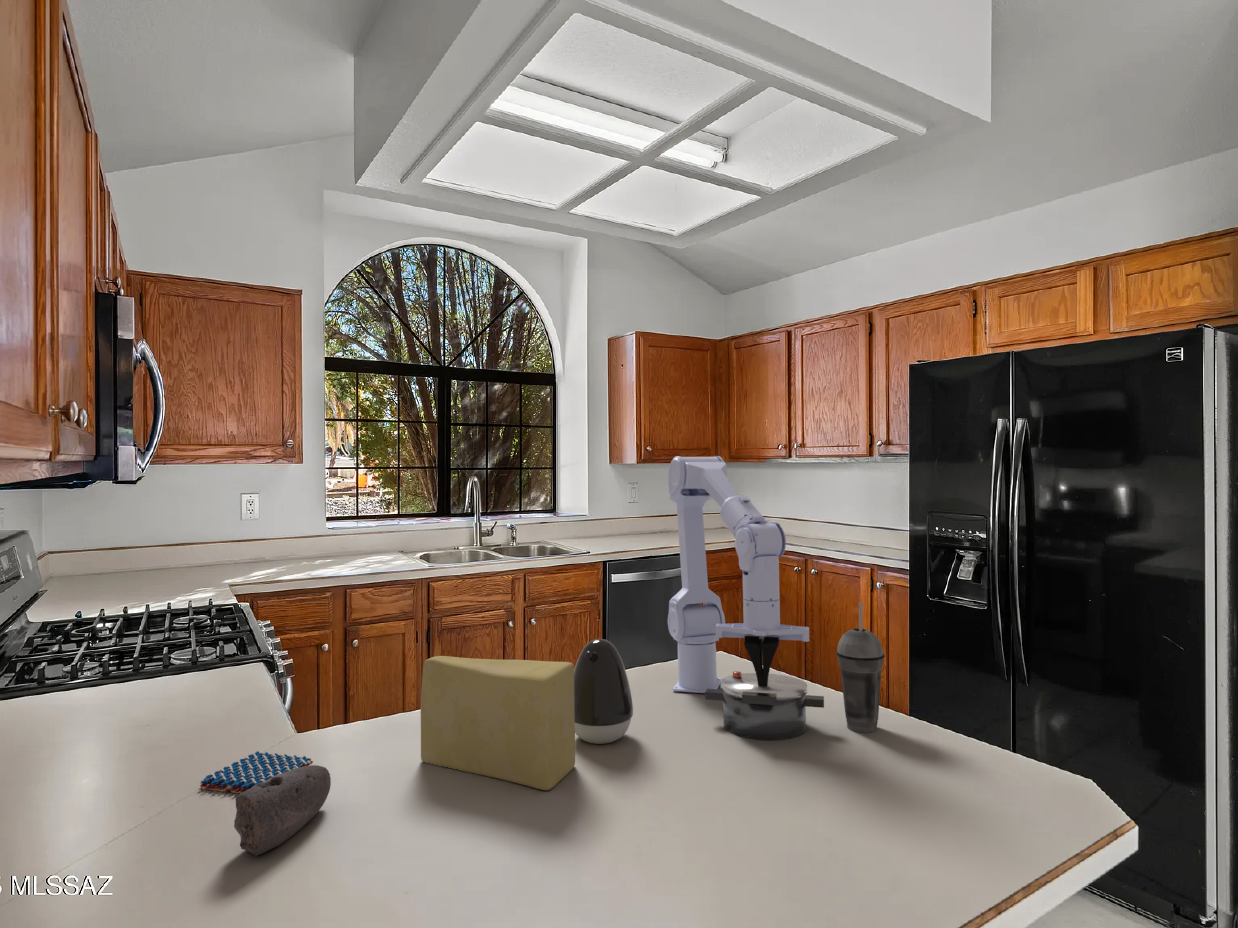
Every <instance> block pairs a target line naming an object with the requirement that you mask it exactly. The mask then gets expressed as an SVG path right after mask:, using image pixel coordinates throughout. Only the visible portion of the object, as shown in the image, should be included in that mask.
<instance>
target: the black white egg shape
mask: <svg viewBox="0 0 1238 928" xmlns="http://www.w3.org/2000/svg"><path fill="white" fill-rule="evenodd" d="M574 708H575V736H577V737H579V738H580V739H581V740H582V741H585V742H587V743H589V744H595V745H602V744H603V745H604V744H610V743H613V742H615V741H618V740H619V739H621V738H622V737H623V736H624V735H625V734H626V733H627V732H628V729H629V726H630V724H631V720H632V718H633V716H634V704H633V697H632V689H631V686H630V682H629V679H628V675H627V672H626V668H625V664H624V662H623V659H622V657H621V655H620V653H619V651H618V650H617V648H616V646H615V645H614V644H613V643H612V642H611V641H608V640H607V639H603V638H596V639H593V640H590V641H588V642H587V643H586V645H584V647H583V648H582V650H581V652H580V654H579V655H578V659H577V660H576V664H575V666H574Z"/></svg>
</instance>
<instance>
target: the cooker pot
mask: <svg viewBox="0 0 1238 928" xmlns="http://www.w3.org/2000/svg"><path fill="white" fill-rule="evenodd" d="M704 694H705V695H704V697H705V698H704V700H708V701H719V702H722V709H723V714H722V716H723V717H722V718H723V727H724V729H726V731H728V732H729V733H731V734H734V735H736V736H739V737H743V738H747V739H752V740H759V741H760V740H761V741H762V740H763V741H779V740H780V741H782V740H789V739H794V738H797V737H800V736H801V735H803V734H804V733H805V732H806V730H807V708H806V707H809V708H825V696H824V695H810V694H806V695H804V696H802V697H800V698H796V699H791V700H780V701H777V703H776V705H763V704H749V703H742V698H739V697H735V696H731V695H729V694H726V693H724V692H723V691H722V690H721V688H720V689H719V688H718V689H707V690H706V692H705V693H704Z"/></svg>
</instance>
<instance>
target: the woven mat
mask: <svg viewBox="0 0 1238 928" xmlns="http://www.w3.org/2000/svg"><path fill="white" fill-rule="evenodd" d="M313 763H314V761H313V760H312V758H310V757H306V755H303V756H302V757H300V756H299V757H298V756H297V755H296V754H295V755H293V756H291V755H287V754H284V755H281V754H280V755H279V753H273V754H271V753H269V752H267V751H266V752H264V753H262V752H259V751H258V750H256V751H255V752H254V753H251V754H249V755H247V756H245V757H243V758H240V759H238V760H237V761H235V762H233V763H232V764H231V765H230V764H229V765H228V766H224V767H223V768H220V769H219V770H218V771H217V770H216V771H215V772H214V773H210V774H207V775H206V776H205V777H204V779H202V780H201V781H200V785H199V786H200V788H201V789H203V790H206V791H208V790H209V791H219V792H226V793H233V794H234V793H235V794H241V793H243V792H245V791H247V790H248V789H250V788H252V787H253V786H255V785H256V784H259V783H261V782H264V781H266V780H268V779H269V778H271V777H274V776H277V775H280V774H282V773H284V772H287V771H290V770H293V769H296V768H299V767H304V766H310V765H312V764H313Z"/></svg>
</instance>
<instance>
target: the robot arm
mask: <svg viewBox="0 0 1238 928" xmlns="http://www.w3.org/2000/svg"><path fill="white" fill-rule="evenodd" d="M727 465H728V464H727V463H726V462H725V461H724V458H722V457H721V456H719V455H714V456H680V455H679V456H678V455H676V456H674V457H673V458H672V460H671V462H670V464H669V466H668V470H667V479H668V480H667V481H668V494H669V500H670V501H672V502H674V503H676V514H677V515H676V516H677V530H678V531H677V533H678V543H679V544H678V545H679V548H678V549H679V558H680V559H679V560H680V562H679V563H680V573H681V574H680V575H681V587H682V588H681V589H680V590H679V591H677V593H676V594H674V596H672V597H671V599H670V600H669V601H668V602H669V603H668V613H667V614H668V615H667V627H668V632H669V635H670V636H671V637H672V639H673V640H674V641H676V642H677V677H678V678H677V682H676V683H675V685H674V686H673V688H672V690H673V692H683V693H697V694H698V693H700V694H705V692H706V690H707V689H719V687H720V686H721V680H722V679H723V678H722V677H718V676H717V665H718V664H717V648H716V646H717V644H716V642H719V641H720V639H723V638H731V639H733V638H737V639H739V638H740V639H744V648H745V650H746V652H747V653H748V657H749V659H750V661H751V663H752V665H753V668H754V673H756V676H757V681H758V686H767V685H768V675H769V674H770V670H771V665H772V662H773V659H774V657H775V654H776V652H777V651H778V648H779V646H780V645H779V644H780V640H783V641H801V642H806V643H809V642H810V627H809V626H799V625H797V626H796V625H789V624H781V610H780V609H781V608H780V607H781V605H780V602H781V601H780V564H779V563H780V559H779V558H781V557H782V556H783V555H784V553H785V552H786V549H787V548H786V547H787V541H786V540H787V539H786V534H785V531H784V528H783V527H782V526H781V524H780V523H779V522H778V521H771V520H770V519H769V520H766V518H765V517H764V516H763V515H762V513H761V512H760V510H758V509H757V507H756V506H755V505H754V503H753V502H752V500H751V499H750V498H749V497H748V496H747V495H739V494H738V493H737V491H736V489H735V488H734V486H733V485H732V483H731V482H730V480H729V478H728V466H727ZM712 499H713V500H714V501H715V503H717V504H718V505H719V507H720V511H719V513H720V515H719V516H720V518H721V520H722V521H723V523H724V524H725V525H726V527H727V528H728V531H730V533H731V534H732V535H733V537H734V538H735V539H734V548H735V551H736V554H737V557H738V566H739V570H741V571H742V602H743V603H742V606H743V607H742V608H743V622H741V623H726V617H725V613H724V611H723V606H722V601H721V598H720V596H718V595H717V594H716V593H715V592H714V591H712V590H711V589H709V582H708V568H707V552H706V541H705V539H706V537H705V527H704V512H703V511H704V510H703V507H704V505H705V503H706V502H708V501H711V500H712ZM693 604H694V605H693ZM696 604H700V605H696ZM688 605H689V606H688Z"/></svg>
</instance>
